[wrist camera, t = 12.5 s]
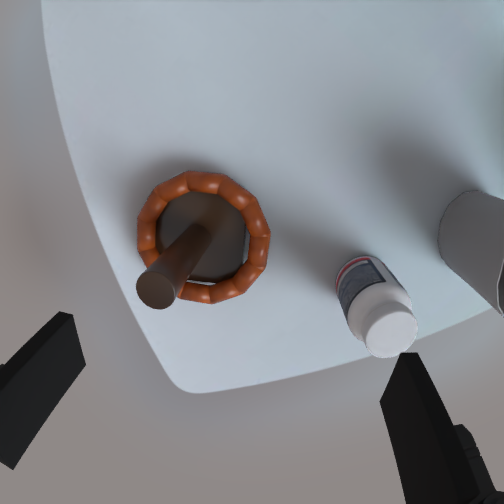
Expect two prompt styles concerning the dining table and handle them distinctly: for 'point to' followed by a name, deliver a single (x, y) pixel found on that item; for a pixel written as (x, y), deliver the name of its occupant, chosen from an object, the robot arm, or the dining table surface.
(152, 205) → the ring
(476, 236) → the cup
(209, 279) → the post
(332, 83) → the dining table surface
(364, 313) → the pill bottle
